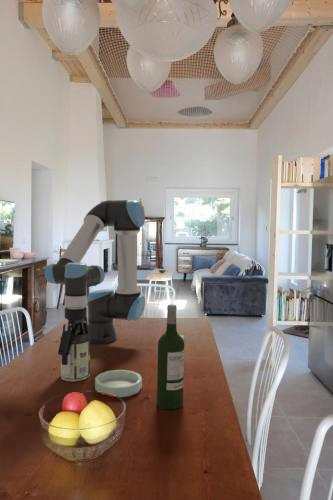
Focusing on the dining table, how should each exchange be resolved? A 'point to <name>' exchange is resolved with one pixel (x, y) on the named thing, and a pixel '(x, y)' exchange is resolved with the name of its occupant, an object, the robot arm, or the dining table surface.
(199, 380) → the dining table surface
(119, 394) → the ring tray
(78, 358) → the coffee can
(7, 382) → the dining table surface
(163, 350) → the wine bottle
